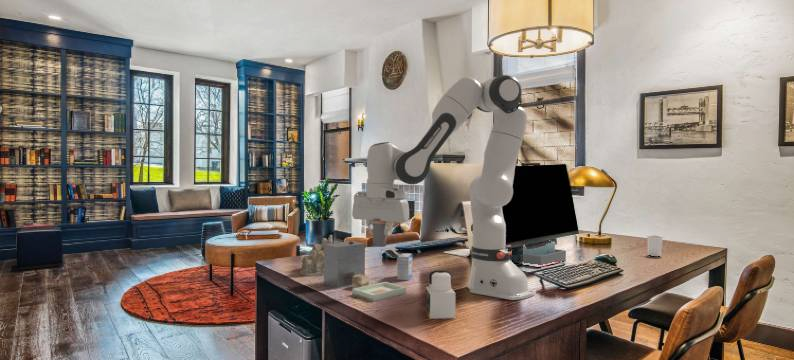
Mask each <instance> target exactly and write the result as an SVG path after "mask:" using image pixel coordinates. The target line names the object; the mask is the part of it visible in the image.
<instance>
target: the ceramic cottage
mask: <svg viewBox="0 0 794 360" xmlns="http://www.w3.org/2000/svg"><path fill="white" fill-rule="evenodd" d="M331 243H334V242H333V234H329V237H328V238H325V237H323V238H321V243H317V244H313V246H312V248H311V249H310V250H309V252H308V254H307V255H304V256H303V257H302V259H301V263H302V264H301V270H300V271H299V274H300V275H303V276H306V277H317V276H318V277H319V276H324V244H331Z"/></svg>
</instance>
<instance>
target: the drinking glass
mask: <svg viewBox="0 0 794 360" xmlns="http://www.w3.org/2000/svg"><path fill="white" fill-rule="evenodd" d="M663 237H664V236H663V235H658V234H647V235H646V240H647V241H646V243H647V256H648V255H653V256H660V255H661V256H662V250H663Z"/></svg>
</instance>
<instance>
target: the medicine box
mask: <svg viewBox="0 0 794 360" xmlns="http://www.w3.org/2000/svg"><path fill="white" fill-rule="evenodd" d="M412 276H413V253H405V252H404V253H400V254H399V255H398V256H397V258H396V277H397V278H396V279H397V280H398V281H410V280H411V278H412Z"/></svg>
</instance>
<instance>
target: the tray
mask: <svg viewBox="0 0 794 360" xmlns="http://www.w3.org/2000/svg"><path fill="white" fill-rule="evenodd" d="M351 292H352V296H354V297H357V298H360V299H363V300H366V301H369V302H372V303H373V302H377V301H381V300H386V299H390V298H394V297H397V296H401V295H405V294H407V287H405V286H402V285H398V284H395V283H391V282H388V281H383V282H377V283H374V284H369V285H368V286H363V287H358V288H352V289H351Z"/></svg>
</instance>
